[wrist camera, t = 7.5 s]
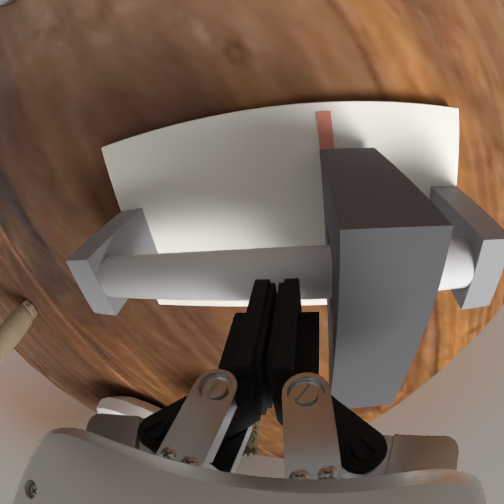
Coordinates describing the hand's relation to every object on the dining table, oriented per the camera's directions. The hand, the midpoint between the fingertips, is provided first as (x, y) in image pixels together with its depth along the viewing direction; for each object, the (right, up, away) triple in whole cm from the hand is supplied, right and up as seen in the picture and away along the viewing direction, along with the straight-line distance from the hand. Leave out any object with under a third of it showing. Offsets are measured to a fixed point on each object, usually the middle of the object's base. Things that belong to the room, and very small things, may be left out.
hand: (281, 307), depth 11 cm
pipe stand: (+1, +5, +7) cm, 9 cm away
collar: (+5, +4, +5) cm, 8 cm away
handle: (-36, -6, +22) cm, 43 cm away
